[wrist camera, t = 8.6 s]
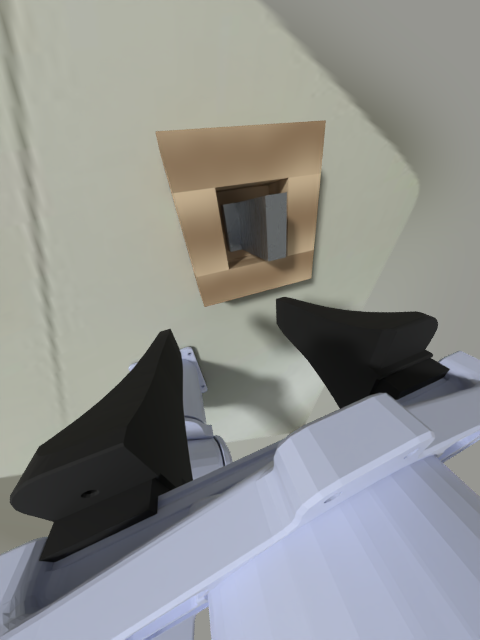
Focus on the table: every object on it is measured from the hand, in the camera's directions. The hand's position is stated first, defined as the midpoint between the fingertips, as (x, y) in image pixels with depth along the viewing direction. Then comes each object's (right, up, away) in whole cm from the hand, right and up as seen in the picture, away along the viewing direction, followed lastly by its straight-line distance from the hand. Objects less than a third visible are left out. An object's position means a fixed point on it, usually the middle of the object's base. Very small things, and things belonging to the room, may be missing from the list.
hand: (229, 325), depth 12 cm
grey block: (+1, +10, +6) cm, 12 cm away
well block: (+1, +10, +6) cm, 12 cm away
